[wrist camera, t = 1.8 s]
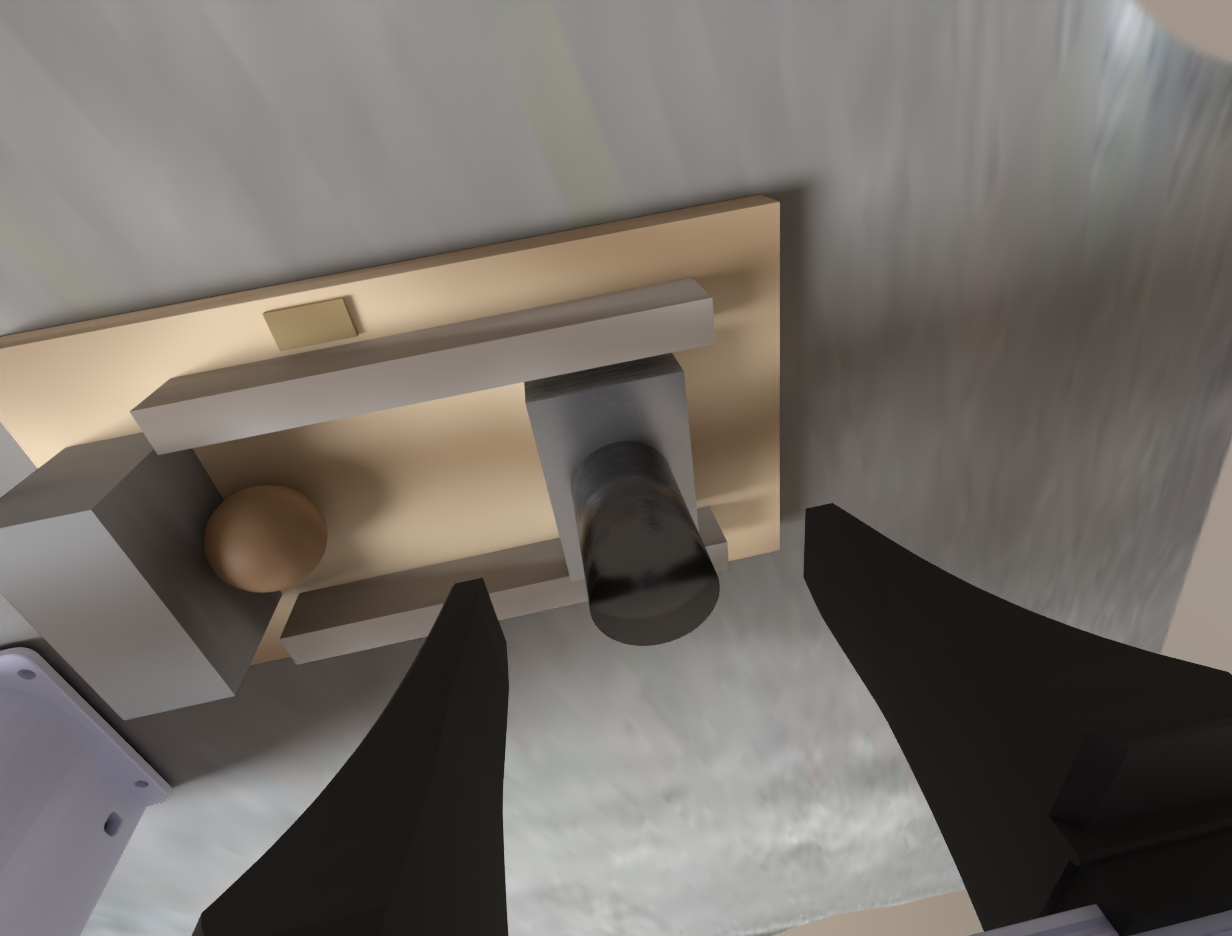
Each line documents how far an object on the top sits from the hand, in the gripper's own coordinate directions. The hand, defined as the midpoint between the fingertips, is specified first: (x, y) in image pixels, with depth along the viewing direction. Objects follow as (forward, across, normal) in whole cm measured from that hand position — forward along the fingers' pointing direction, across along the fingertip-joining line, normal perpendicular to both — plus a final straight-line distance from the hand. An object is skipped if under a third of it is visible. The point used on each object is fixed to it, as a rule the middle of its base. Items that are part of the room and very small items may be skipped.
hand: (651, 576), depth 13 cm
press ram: (+6, 0, 0) cm, 6 cm away
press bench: (+8, +5, 0) cm, 9 cm away
